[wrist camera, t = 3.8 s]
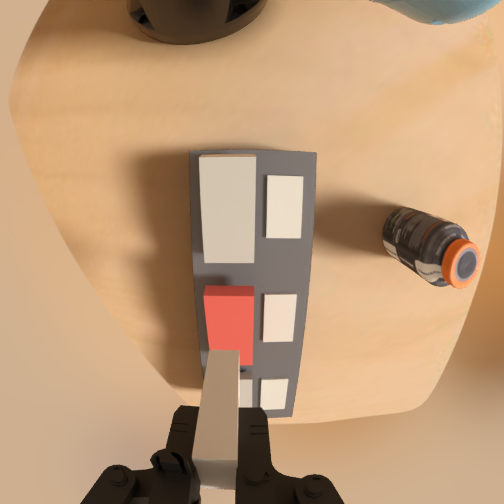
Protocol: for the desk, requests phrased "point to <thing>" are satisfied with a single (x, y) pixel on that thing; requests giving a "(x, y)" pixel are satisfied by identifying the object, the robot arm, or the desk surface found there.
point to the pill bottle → (431, 247)
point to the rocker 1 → (228, 207)
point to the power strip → (267, 271)
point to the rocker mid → (230, 319)
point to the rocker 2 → (245, 389)
